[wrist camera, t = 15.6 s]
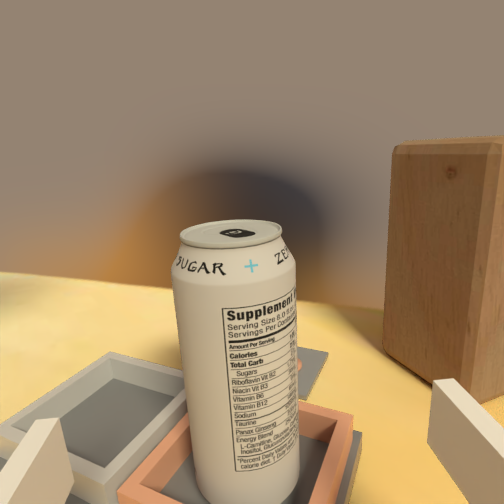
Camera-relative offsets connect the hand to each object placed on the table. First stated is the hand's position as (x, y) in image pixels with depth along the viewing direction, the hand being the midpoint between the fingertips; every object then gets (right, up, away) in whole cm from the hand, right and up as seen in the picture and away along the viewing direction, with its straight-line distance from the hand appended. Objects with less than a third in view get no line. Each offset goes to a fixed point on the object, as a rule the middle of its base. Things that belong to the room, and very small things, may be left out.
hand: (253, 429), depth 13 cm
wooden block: (+19, -4, +21) cm, 28 cm away
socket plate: (-5, -8, +12) cm, 15 cm away
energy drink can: (0, -7, +9) cm, 11 cm away
